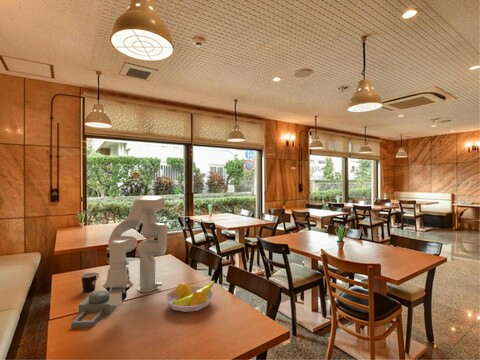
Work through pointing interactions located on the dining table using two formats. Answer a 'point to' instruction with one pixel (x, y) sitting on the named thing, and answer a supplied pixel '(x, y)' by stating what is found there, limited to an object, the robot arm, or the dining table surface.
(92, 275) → the coffee mug
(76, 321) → the domed grey panel
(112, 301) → the grey bevelled box
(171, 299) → the fruit bowl
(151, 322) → the dining table surface
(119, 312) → the dining table surface
